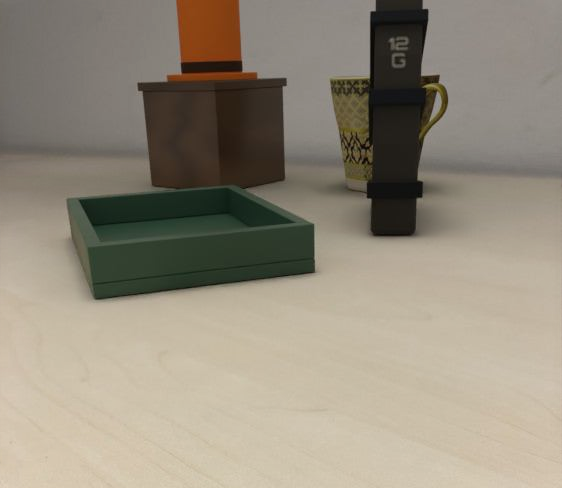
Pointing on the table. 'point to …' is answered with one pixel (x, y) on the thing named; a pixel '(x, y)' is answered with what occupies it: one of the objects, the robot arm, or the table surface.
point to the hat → (209, 41)
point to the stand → (215, 132)
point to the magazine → (395, 113)
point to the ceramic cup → (355, 122)
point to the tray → (185, 239)
